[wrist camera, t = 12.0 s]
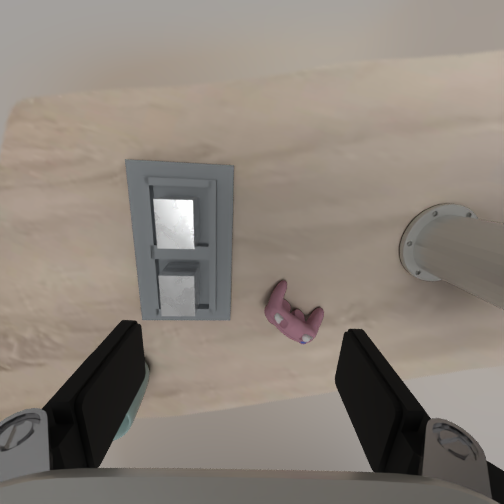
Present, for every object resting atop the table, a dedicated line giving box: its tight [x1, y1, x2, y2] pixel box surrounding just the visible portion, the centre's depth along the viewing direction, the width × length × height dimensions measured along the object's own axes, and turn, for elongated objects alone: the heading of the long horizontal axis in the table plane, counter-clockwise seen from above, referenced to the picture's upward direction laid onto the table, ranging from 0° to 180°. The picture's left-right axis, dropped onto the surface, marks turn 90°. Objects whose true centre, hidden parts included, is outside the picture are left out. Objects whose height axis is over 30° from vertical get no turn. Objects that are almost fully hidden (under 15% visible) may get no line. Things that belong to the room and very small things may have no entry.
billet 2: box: [159, 262, 200, 316], centre depth 33 cm, size 4×6×5 cm
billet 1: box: [153, 196, 200, 249], centre depth 30 cm, size 4×6×5 cm
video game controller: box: [265, 281, 324, 344], centre depth 37 cm, size 10×5×7 cm, turn 51°
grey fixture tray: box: [125, 159, 234, 320], centre depth 34 cm, size 14×24×2 cm, turn 177°
